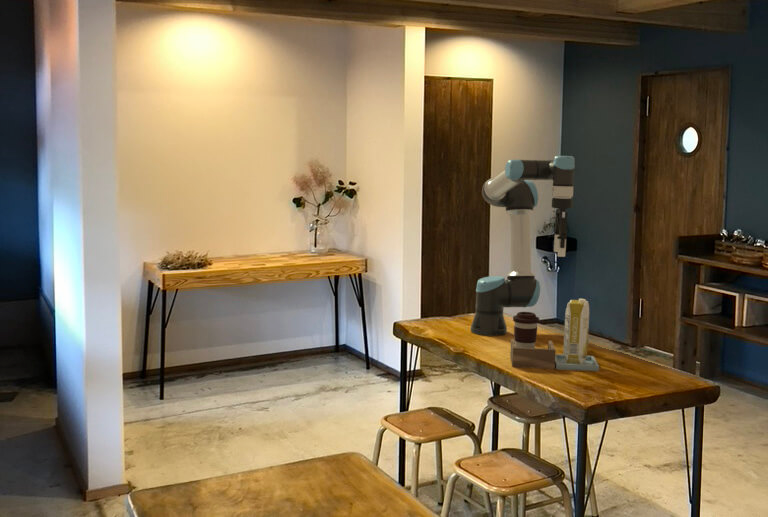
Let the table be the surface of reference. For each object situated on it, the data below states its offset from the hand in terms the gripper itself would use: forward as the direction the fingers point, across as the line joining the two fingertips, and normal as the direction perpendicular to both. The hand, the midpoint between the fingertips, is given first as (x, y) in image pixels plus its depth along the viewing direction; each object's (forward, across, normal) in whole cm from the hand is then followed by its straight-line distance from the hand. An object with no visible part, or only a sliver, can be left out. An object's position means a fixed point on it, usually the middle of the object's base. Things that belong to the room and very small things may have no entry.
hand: (559, 254), depth 323 cm
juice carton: (+38, +14, +6) cm, 41 cm away
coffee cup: (+39, -3, -11) cm, 41 cm away
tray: (+39, +14, +6) cm, 42 cm away
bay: (+39, +14, -10) cm, 42 cm away
